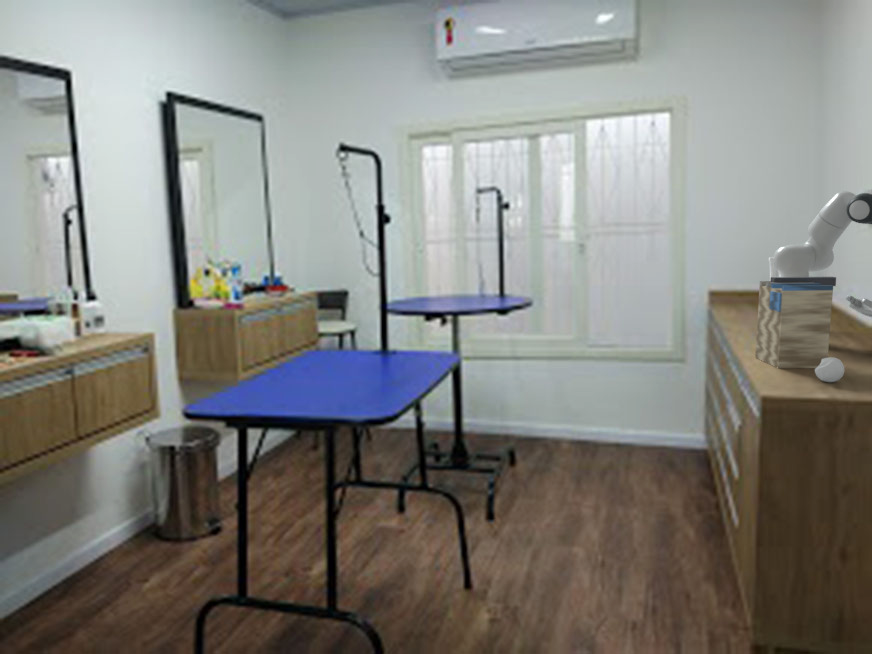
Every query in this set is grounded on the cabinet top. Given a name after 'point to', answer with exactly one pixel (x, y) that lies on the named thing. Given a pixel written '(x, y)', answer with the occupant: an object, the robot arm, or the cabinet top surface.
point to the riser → (793, 323)
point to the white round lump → (830, 369)
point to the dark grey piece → (806, 280)
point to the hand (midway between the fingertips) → (855, 298)
